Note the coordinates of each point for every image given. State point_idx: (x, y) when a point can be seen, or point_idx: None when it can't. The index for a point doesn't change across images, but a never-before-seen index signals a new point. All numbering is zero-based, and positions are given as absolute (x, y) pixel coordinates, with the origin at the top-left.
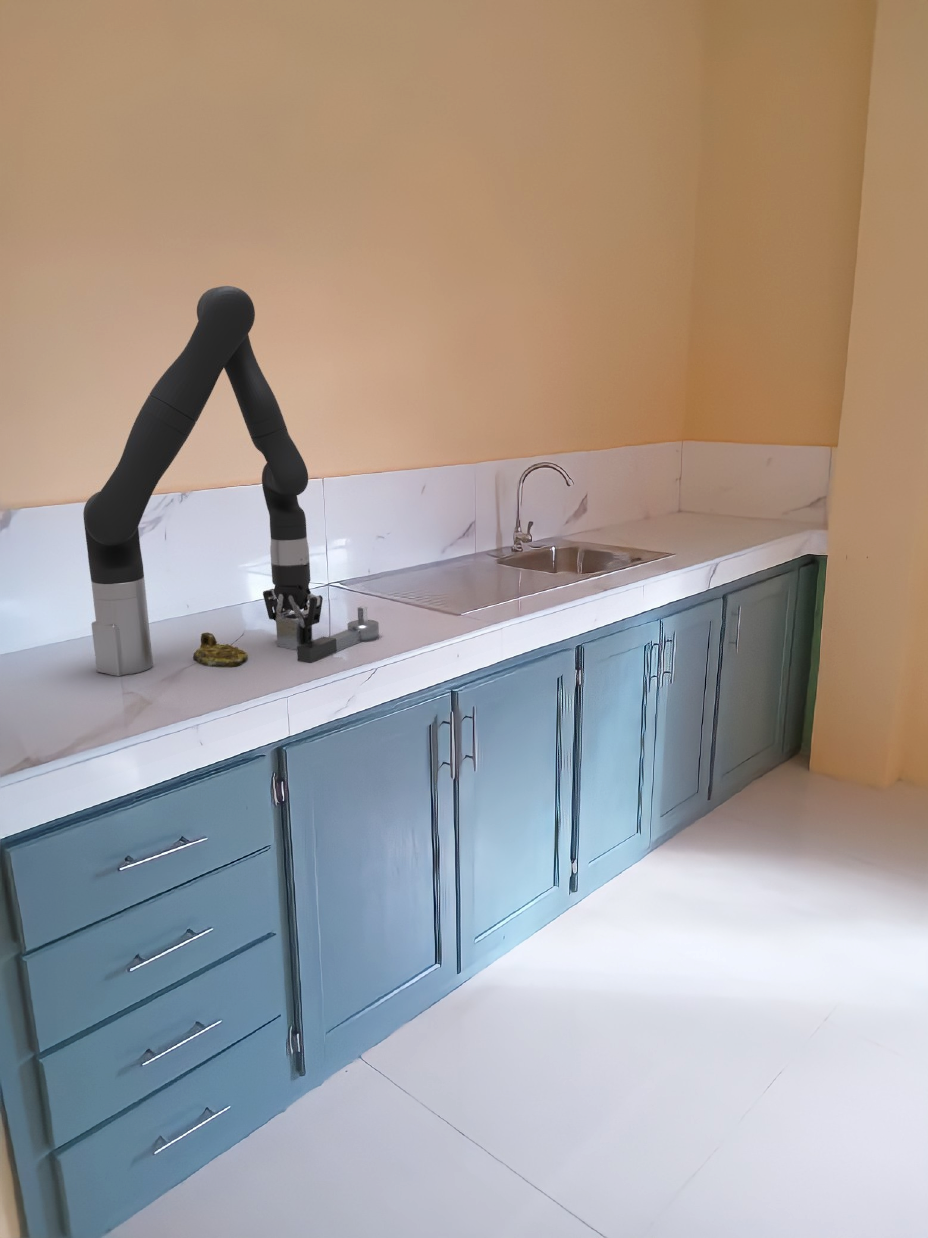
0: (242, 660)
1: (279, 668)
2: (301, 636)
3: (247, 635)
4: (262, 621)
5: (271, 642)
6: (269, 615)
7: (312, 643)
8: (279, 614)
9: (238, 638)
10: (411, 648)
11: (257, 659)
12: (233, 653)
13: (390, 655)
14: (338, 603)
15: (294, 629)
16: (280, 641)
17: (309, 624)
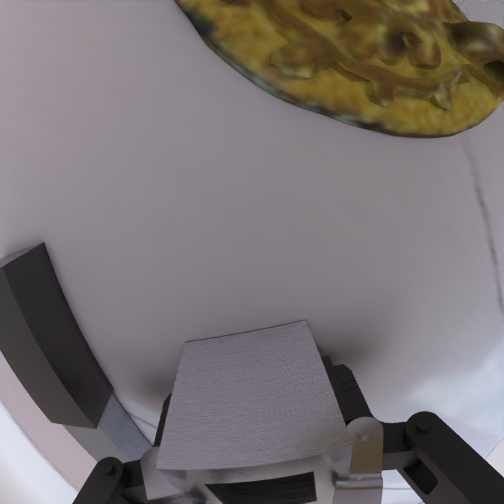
0: (185, 10)
1: (17, 124)
2: None
3: (489, 311)
4: (494, 389)
5: (377, 332)
6: (435, 426)
7: (17, 343)
8: (357, 474)
9: (497, 270)
10: (41, 450)
11: (192, 107)
12: (304, 18)
13: (9, 409)
14: (405, 496)
15: (173, 420)
16: (290, 341)
17: (110, 462)
